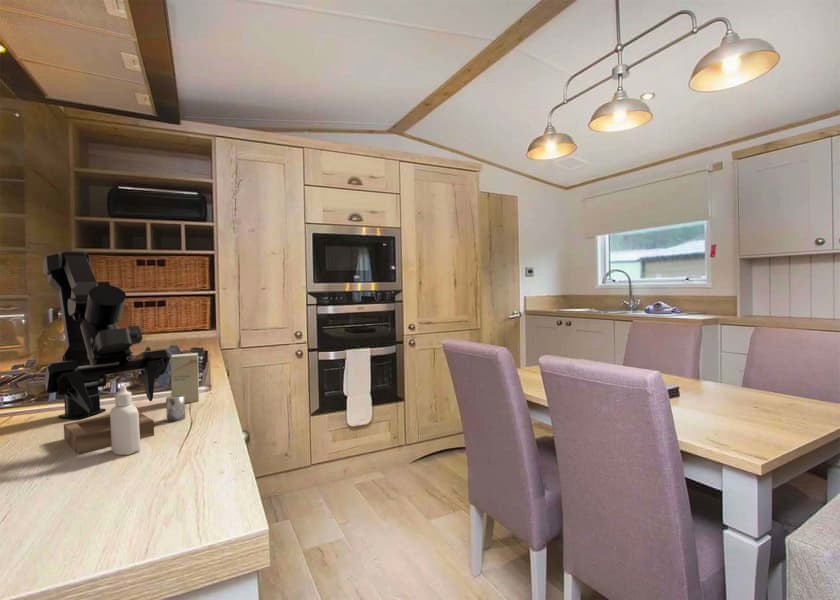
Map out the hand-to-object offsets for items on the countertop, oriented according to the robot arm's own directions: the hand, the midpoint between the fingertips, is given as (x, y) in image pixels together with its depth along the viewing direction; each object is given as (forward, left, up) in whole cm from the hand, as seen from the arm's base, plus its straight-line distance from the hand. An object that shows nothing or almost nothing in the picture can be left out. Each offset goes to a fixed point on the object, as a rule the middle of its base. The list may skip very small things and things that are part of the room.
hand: (122, 405), depth 76 cm
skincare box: (-13, +30, -8) cm, 34 cm away
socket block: (-9, +5, -8) cm, 13 cm away
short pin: (-4, +17, -8) cm, 19 cm away
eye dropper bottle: (+1, 0, -8) cm, 9 cm away
